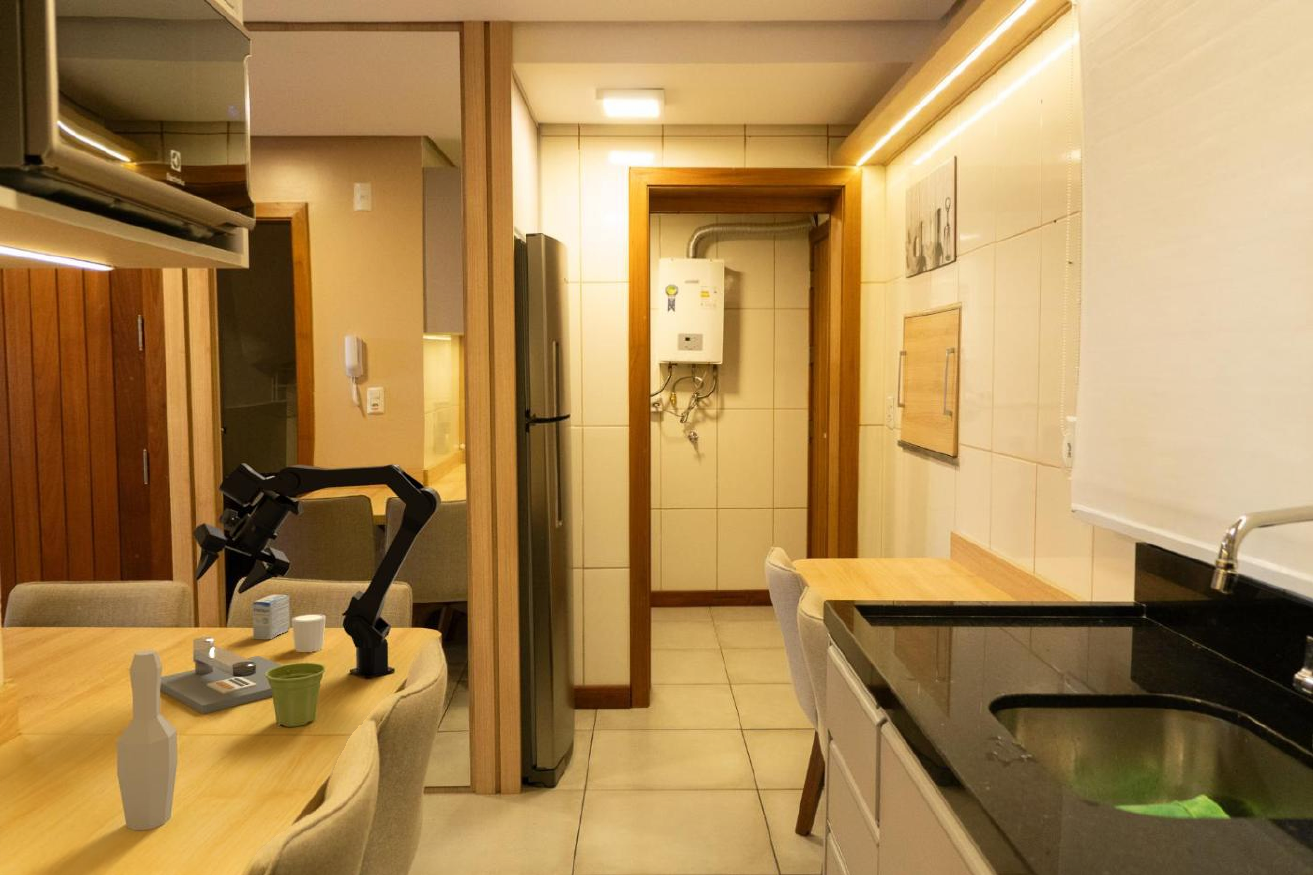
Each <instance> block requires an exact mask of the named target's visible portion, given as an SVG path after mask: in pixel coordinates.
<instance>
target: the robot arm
mask: <svg viewBox="0 0 1313 875" xmlns="http://www.w3.org/2000/svg"><path fill="white" fill-rule="evenodd" d="M380 485H385V486H387V487H388V488H389V489H390V490H391V491H392V493H394V495H396V496H397V497H398V500H399V499H400V500H401V502H403V503H404V504H405V507H404V509H403V513H402V517H401V521H400V526H399V529H398V531H397V533H396V534H395V536H394V538H393V540H392V541H391V544H390V546H389V548H388V549H387V551H386V553H385V555H384V557H383V559H382V561H381V562H380V564H379V566H378V568H377V570H376V572H375V574H374V576H373V578H372V579H371V581H370V583H369V585H368V587H367V588H366V590H365V591H364V592H362V591H361V590H357V591H356V593H355V594H354V595H353V596H351V598H350V601H349V604H348V607H347V609H346V610H345V611H344V612H343V613H342V616H344V618H343V620H342V626H343V629H344V632H345V633H346V635H347V636H349V637H350V638H351V640H352V642H353V645H354V647H355V650H356V651H355V653H356V654H355V658H356V659H355V660H356V667H355V668H352V669H349V673H350V674H353V675H356V676H358V677H361V678H364V679H370V678H371V679H372V678H374V677H375V678H376V677H378V676H382V675H386V674H389V673H394V672H395V670H396V668H394V667H392V666H389V643H388V640H387V639H386V638H387V637H388V636H389V634H390V631H391V628H392V625H390V624H389V623H388V622H387V620H385V619H384V618H383V617H382V614H383V609H384V606H385V603H386V602H385V600H386V598H387V594H388V592H389V590H390V588H391V587H392V585H393V583H394V581H395V579H396V577H397V576H398V573H399V571H400V570H401V567H402V565H403V564H404V562H405V560H406V558H407V556H408V554H409V553H410V551H411V549H412V547H413V545H414V544H415V541H416V539H417V538H418V536H419V535H420V533H421V532H422V530H423V529H424V528H425V527H426V525H427V524H428V523H429V522H430V521H431V519H432V518H433V516H434V515H435V514H436V513H437V512H438V511H439V509H440V507H441V505H442V497H441V495H440V494H439V492H438V490H437V489H434V488H432V487H430V486H425V485H423V483H421V481H420V480H419V481H418V479H416V478H414V477H413V476H412V475H410V474H409V473H407V472H406V471H405V470H404V469H403V468H402V466H401V465H399V464H396V463H390V464H387V465H372V466H371V465H369V466H354V467H351V466H350V467H338V468H337V467H336V468H329V467H327V468H326V467H320V466H314V465H306V464H295V465H291V466H286V467H283V468H281V469H280V470H279V471H278V473H277V474H276V476H275V475H272V476H268V477H265V476H263V475H261V474H260V473H258V472H257V471H255V470H254V469H253V468H252V467H251V466H249V465H248V464H247V463H245V462H244V463H240V464H239V465H238V466H237V467H236V468H235V469H234V470H233V471H232V472H230V474H229V475H228V476H226V477H225V478H224V479H223V481H222V482H221V484H220V485H219V488H218V490H219V491H220V492H221V493H223V494H224V495H225V496H227V497H228V498H230V499H231V500H233V501H234V502H236V503H237V504H239V505H240V506H242V507H244V508H245V507H247V506H249V505H250V506H252V507H253V506H255V505H256V504H257V505H256V507H255V508H254V509H253V511H252V512H251V514H249V513H246V514H245V515H244V516H243V517H242V518H241V517H238V515H239V514H238V511H236V510H233V509H230V508H228V507H226V508H225V510H224V511H223V512H222V513H221V515H220V517H219V519H218V523H219V524H222V525H224V527H223V530H224V531H227V532H228V533H229V536H230V537H232V539H231V538H229V537H226V536H225V534H224V533H223V531H222V530H221V528H218V527H216V526H213V525H211V524H208V523H205V522H204V523H201V524H198V525H197V527H196V528H195V529H194V531H193V532H192V534H193V536H194V538H195V540H196V542H197V544H198V546H199V547H200V556H199V560H198V564H197V567H196V572H195V574H194V579H195V581H199V580H200V579H201V578H203V576H204V575H205V574H206V573H207V571H208V570H209V569H210V568H211V567H212V566H213V564H215V562H216V561H217V560H218V558H220V554H219V552H223V550H224V549H227V550H229V551H231V552H235V553H238V554H240V555H243V556H246V557H249V558H252V559H255V560H256V561H255V563H254V566H253V568H252V569H251V571H250V572H249V574H248V575H247V576H246V577H245V578H244V579H243V581H242V582H241V584H240V586H239V587H238V589H237V593H238V594H240V595H241V594H243V593H245V592H246V591H248V590H251V588H253V587H256V586H257V585H259V584H261V583H264V582H266V581H268V580H270V579H273V578H276V579H277V578H278V577H279V576H282V577H285V576H287V574H288V572H289V571H290V570H291V562H290V560H289V558H288V557H287V556H286V554H285V552H284V551H282V550H278V549H275V548H274V547H271V546H268V547H267V545H268V543H269V542H270V541H271V540H274V541H275V540H276V539H277V537H278V534H277V533H276V532H277V531H278V530H279V528H280V527H281V525H283V523H284V522H285V520H286V519H287V517H288V516H289V515H290V514H291V513H292V514H294V515H296V516H299V515H300V514H303V513H304V509H303V504H302V499H299V500H294V499H292V497H296V496H299V495H303V494H308V493H312V492H316V491H320V490H324V489H331V488H347V487H348V488H349V487H362V486H365V487H366V486H380ZM276 492H280V494H278V493H276ZM259 501H260V502H259Z"/></svg>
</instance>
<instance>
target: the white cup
mask: <svg viewBox="0 0 1313 875" xmlns="http://www.w3.org/2000/svg"><path fill="white" fill-rule="evenodd" d="M291 625H292V634H293V642H294V650H296V651H299V652H310V653H312V652H311V651H316V650H319V649H322V648H323V649H324V640H325V628H326V615H325V614H320V613H319V614H317V613H312V614H311V613H310V614H302V615H296V616H294V617H292V618H291ZM323 649H322V650H323ZM296 651H295V652H296ZM319 651H320V650H319ZM299 652H298V653H299ZM316 652H317V651H316Z"/></svg>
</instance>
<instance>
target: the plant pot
mask: <svg viewBox="0 0 1313 875" xmlns="http://www.w3.org/2000/svg"><path fill="white" fill-rule="evenodd" d="M325 672H326V666H325V665H323V664H321V663H316V662H297V663H296V662H295V663H288V664H283V665H282V666H278V667H275V668H272V669H270V670H268V671H267V672H266V673H265V676H266V678H268V682H269V685H270V686H271V691H272V703H273V709H274V714H275V719H276V721H275V722H276V724H277V725H278V726H281V725H283V726H284V727H287V728H292V727H302V726H304V725H306V724H308V723H309V722H314V721H315V720H316V717H317V712H318V711H317V709H318V700H319V694H320V686H321V681H322V679H323V675H324V673H325Z"/></svg>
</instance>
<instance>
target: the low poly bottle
mask: <svg viewBox="0 0 1313 875" xmlns="http://www.w3.org/2000/svg"><path fill="white" fill-rule="evenodd" d="M162 672H163V664H162V661H161V659H160V657H159V654H158V651H157V650H154V649H145V650H140V651H137V652H136V653H134V654H133V658H132V662H131V664H130V667H129V678H130V686H131V692H132V693H131V694H132V719H131V721H130V722H129V723H128V725H127V726H126V728H125V729H124V730H123V731H122V733H121V734H120V736H119V737H118V738H117V740H116V770H117V772H116V773H117V774H116V775H117V779H118V780H117V781H118V785H119V786H118V787H119V791H120V797H121V802H122V809H123V813H124V820H125V824H126V828H128V829H130V830H132V831H151V830H153V829H155V828H158V827H160V826H164V825H165V824H166V823H167V822H168V821H169V820H170V818H171V817H172V809H173V801H174V800H173V799H174V792H175V786H176V785H175V784H176V774H177V768H178V767H177V766H178V730H177V729H176V728H175V727H174V725H172V723H171V722H169V721H168V720H167V718H165V717H164V716H163V715H162V713H161V691H160V685H161V677H162Z"/></svg>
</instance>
